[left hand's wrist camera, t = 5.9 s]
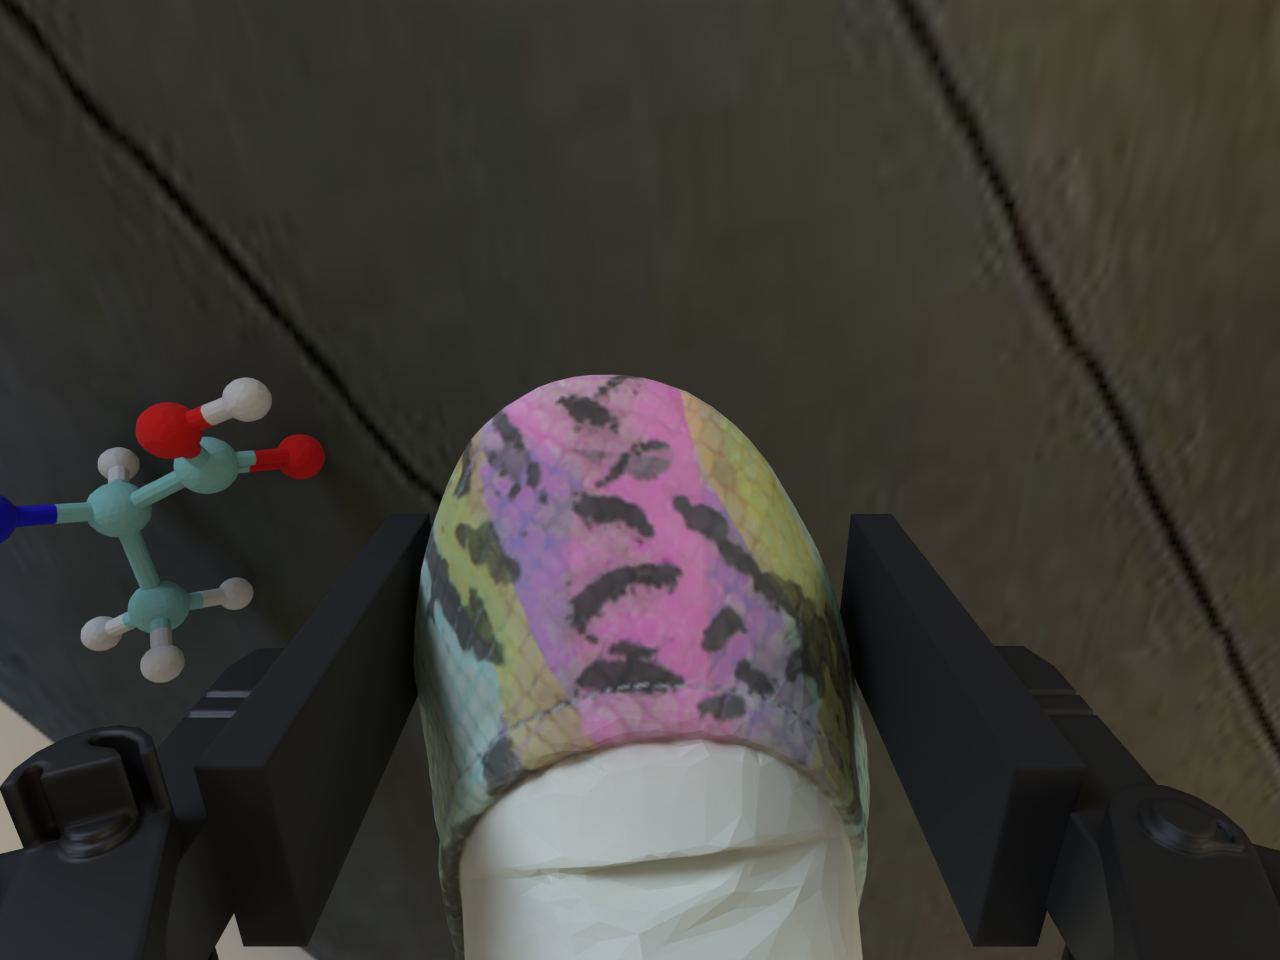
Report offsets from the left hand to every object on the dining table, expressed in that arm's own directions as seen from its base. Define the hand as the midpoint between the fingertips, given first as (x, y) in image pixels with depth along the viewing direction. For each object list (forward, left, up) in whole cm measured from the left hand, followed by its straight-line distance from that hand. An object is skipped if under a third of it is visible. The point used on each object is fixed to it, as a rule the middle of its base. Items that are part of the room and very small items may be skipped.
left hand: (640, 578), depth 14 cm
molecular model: (+14, -10, -13) cm, 21 cm away
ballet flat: (+5, +6, -1) cm, 8 cm away
